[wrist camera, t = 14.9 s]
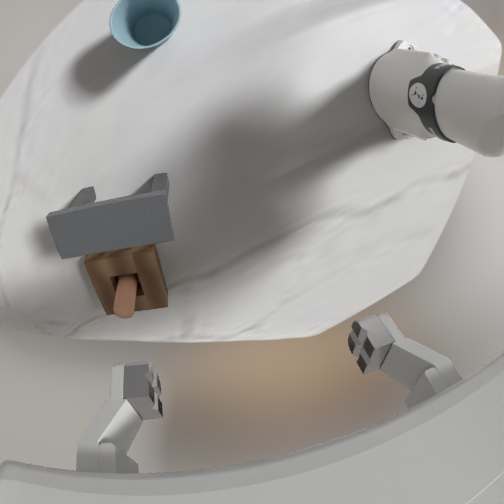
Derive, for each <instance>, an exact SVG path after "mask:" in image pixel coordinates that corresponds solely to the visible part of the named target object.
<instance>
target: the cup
mask: <svg viewBox="0 0 504 504" xmlns="http://www.w3.org/2000/svg"><path fill="white" fill-rule="evenodd" d="M180 18H181V7H180V4H179V1H178V0H119V1H118V3H117V4H116V5H115V7H114V8H113V10H112V13H111V16H110V23H109V24H110V30H111V33H112V35H113V37H114V38H115V39H116V40H117V41H118V42H119V43H120V44H122V45H124V46H126V47H129V48H133V49H145V48H152V47H156V46H160V45H162V44H163V43H164V42H166V41H167V40H168V39H169V38H170V36H171V35H172V34H173V33H174V31H175V30H176V28H177V27H178V24H179V22H180Z"/></svg>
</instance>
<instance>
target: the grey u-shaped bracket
mask: <svg viewBox="0 0 504 504" xmlns="http://www.w3.org/2000/svg"><path fill="white" fill-rule="evenodd" d="M168 191H169V182H168V175H167V173H162V174H156V175H154V178H153V183H152V187H151V192H149V193H143V194H137V195H132V196H126V197H121V198H115V199H110V200H105V201H100V202H95V203H94V201H95V199H96V195H95V191H94V187H89V188H84V189H82V190H81V191H80V193H79V194H78V196H77V197H76V198H75V200H74V201H73V203H72V204H71V206H70V207H69V208H67V209H63V210H59V211H54V212H50V213H49V214H48V215H47V217H46V219H47V222H48V224H49V227H50V230H51V233H52V235H53V238H54V241H55V243H56V246H57V248H58V251H59V253H60V256H61V258H62V259H65V258H71V257H76V256H82V255H88V254H94V253H100V252H105V251H111V250H117V249H124V248H130V247H136V246H142V245H148V244H155V243H161V242H167V241H174V235H173V230H172V224H171V219H170V213H169V207H168Z"/></svg>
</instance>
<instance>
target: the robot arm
mask: <svg viewBox="0 0 504 504" xmlns="http://www.w3.org/2000/svg"><path fill="white" fill-rule="evenodd" d="M408 48H409V50H408ZM369 93H370V98H371V102H372V105H373V107H374V109H375V111H376V113H377V114H378V115H379V117H380V118H381V119H382V120H383V121H384V122H385V123H386V124H387V125H388V126H389V129H390V131H391V134H392V135H393V137H394V138H396V139H405V138H410V137H417V138H419V139H422V140H426V139H427V138H433V137H438V138H439V139H442V140H444V141H449V142H452V143H459V144H461V145H463V146H465V147H467V148H469V149H471V150H473V151H475V152H477V153H479V154H482V155H483V156H486V157H500V156H502V155H504V75H501V76H495V75H487V74H481V73H475V72H470V71H466V70H465V69H463V68H461V67H458V66H455V65H453V64H452V61H450V60H448V59H445V58H441V56H439V55H436V54H432V53H429V52H425V51H423V50H422V49H420V48H418V47H416V46H414V45H413V44H411V43H409V42H407V41H403V40H400V41H398V42H397V44H396V45H395V47H394V48H393V50H391V51H390V52H388V53H386V54H385V55H383V56H382V57H381V58H380V59H379V60H378V61H377V62H376V63H375V65H374V67H373V69H372V72H371V75H370V81H369ZM352 329H353V331H352V332H351V333H350V334H349V337H348V345H349V348H350V351H351V353H352V354H353V355H355V356H356V357H358V359H357V364H358V365H359V367H360V369H361V371H362V373H363V374H365V373H368V372H371V371H374V370H377V369H380V370H381V371H383V372H384V373H385V374H387V375H388V376H390V377H391V378H393V379H394V380H395V381H397V382H398V383H400V384H401V385H403V386H404V387H406V388H407V389H408V390H410V391H411V392H410V393H409V394H408V396H407V397H406V399H405V403H406V405H407V407H408V409H407V410H405V411H403V412H401V413H399V414H396V415H394V416H392V417H390V418H387V419H385V420H383V421H380V422H378V423H376V424H373V425H371V426H368V427H366V428H363V429H361V430H358V431H355V432H353V433H350V434H347V435H345V436H342V437H339V438H336V439H333V440H330V441H327V442H324V443H321V444H318V445H314V446H311V447H308V448H304V449H301V450H297V451H293V452H290V453H286V454H282V455H278V456H273V457H270V458H265V459H260V460H255V461H250V462H245V463H240V464H234V465H228V466H222V467H215V468H207V469H199V470H189V471H179V472H165V473H139V470H138V464H137V463H136V462H135V461H134V460H132V459H131V458H129V457H128V456H127V455H126V454H127V452H128V450H129V448H130V446H131V444H132V442H133V440H134V438H135V436H136V434H137V432H138V430H139V428H140V426H141V424H142V422H143V420H145V419H155V418H163V410H162V402H161V401H160V399H159V397H160V395H161V385H160V380H159V376H158V374H157V372H156V371H154V370H153V364H152V362H151V361H143V362H130V363H117V364H113V367H112V374H111V389H110V400H106V401H105V403H104V404H103V406H102V407H101V408H100V410H99V411H98V413H97V414H96V416H95V417H94V418H93V420H92V421H91V422H90V424H89V425H88V427H87V428H86V430H85V431H84V432H83V434H82V435H81V437H80V438H79V440H78V441H77V469H76V471H73V470H64V469H56V468H49V467H43V466H36V465H31V464H26V463H21V462H17V461H11V460H6V461H4V462H3V463H2V464H1V465H0V504H504V352H502V353H501V354H499V355H498V356H497V357H495V358H494V359H492V360H491V361H490V362H488V363H487V364H485V365H484V366H482V367H481V368H479V369H478V370H476V371H475V372H473V373H472V374H470V375H468V376H467V377H465V378H464V379H462V377H461V376H460V374H459V373H458V371H457V370H456V368H455V367H454V365H453V364H452V363H451V361H450V360H449V359H448V358H447V357H445V356H443V355H441V354H439V353H437V352H435V351H433V350H431V349H429V348H427V347H425V346H423V345H421V344H419V343H417V342H415V341H413V340H411V339H409V338H404V336H403V335H402V333H401V332H400V330H399V329H398V328H397V326H396V325H395V323H394V322H393V321H392V319H391V318H390V316H389V315H388V314H387V313H385V312H383V313H380V314H377V315H372V316H369V317H366V318H363V319H359V320H356V321H354V322H353V323H352Z"/></svg>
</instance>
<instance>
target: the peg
mask: <svg viewBox="0 0 504 504" xmlns="http://www.w3.org/2000/svg"><path fill="white" fill-rule="evenodd" d="M137 281H138V274H137V273H132V274H125V275H119V280H118V285H117V290H116V296H115V301H114V307H113V311H114V313H115V314H116V315H117V316H118V317H121V318H130V317H131V316H133V314H134V309H135V299H136V290H137Z"/></svg>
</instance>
